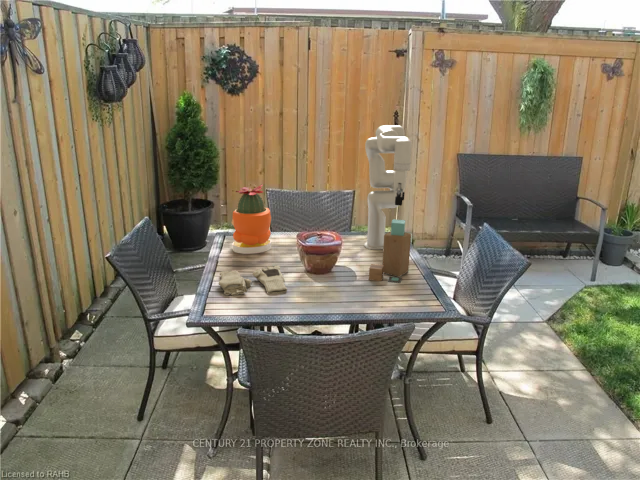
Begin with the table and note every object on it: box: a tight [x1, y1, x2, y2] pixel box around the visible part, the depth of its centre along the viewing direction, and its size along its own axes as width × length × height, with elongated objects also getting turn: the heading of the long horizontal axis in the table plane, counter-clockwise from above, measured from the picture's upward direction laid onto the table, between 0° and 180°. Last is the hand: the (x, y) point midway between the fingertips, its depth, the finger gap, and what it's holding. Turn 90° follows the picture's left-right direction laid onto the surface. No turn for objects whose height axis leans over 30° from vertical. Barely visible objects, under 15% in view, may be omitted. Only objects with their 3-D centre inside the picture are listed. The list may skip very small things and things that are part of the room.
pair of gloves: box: [218, 264, 288, 297], centre depth 247 cm, size 30×26×5 cm
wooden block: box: [381, 231, 412, 278], centre depth 261 cm, size 10×10×20 cm
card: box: [387, 275, 403, 284], centre depth 254 cm, size 6×6×1 cm
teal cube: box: [390, 218, 406, 236], centre depth 257 cm, size 6×6×6 cm
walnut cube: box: [368, 263, 384, 282], centre depth 255 cm, size 6×6×6 cm
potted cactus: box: [231, 184, 272, 255], centre depth 287 cm, size 22×22×35 cm
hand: (399, 202), depth 253 cm, fingers open, 9 cm apart
